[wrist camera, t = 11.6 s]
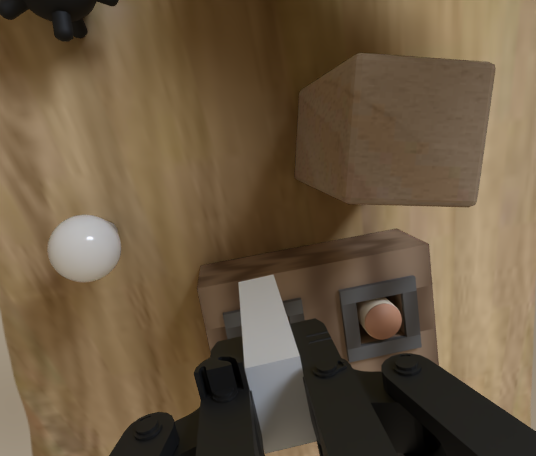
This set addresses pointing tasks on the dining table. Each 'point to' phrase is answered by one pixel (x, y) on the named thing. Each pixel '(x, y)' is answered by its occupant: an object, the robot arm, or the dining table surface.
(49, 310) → the dining table surface
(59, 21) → the toy ball
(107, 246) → the lightbulb
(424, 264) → the socket block
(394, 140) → the wooden block
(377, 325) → the peg
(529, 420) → the dining table surface
